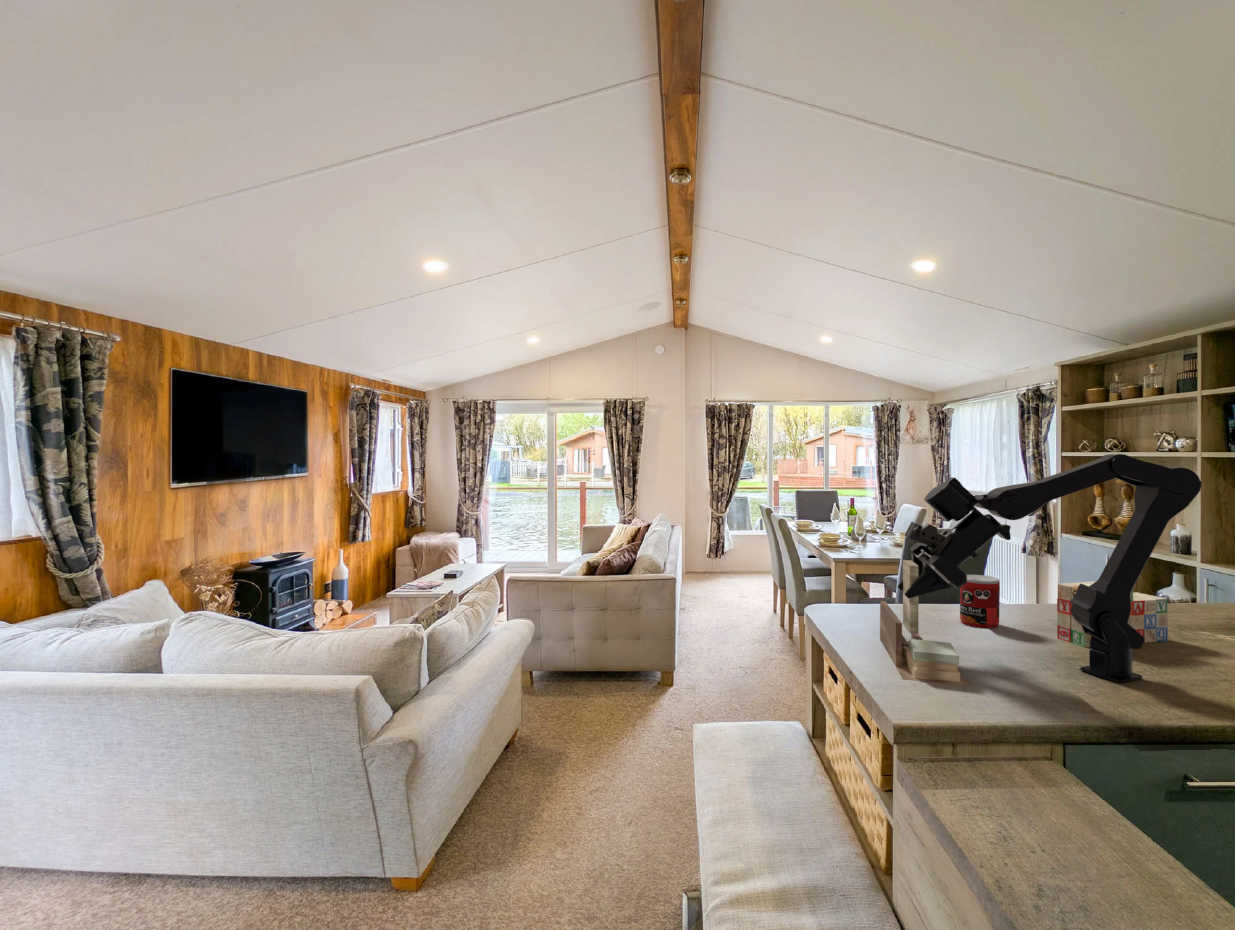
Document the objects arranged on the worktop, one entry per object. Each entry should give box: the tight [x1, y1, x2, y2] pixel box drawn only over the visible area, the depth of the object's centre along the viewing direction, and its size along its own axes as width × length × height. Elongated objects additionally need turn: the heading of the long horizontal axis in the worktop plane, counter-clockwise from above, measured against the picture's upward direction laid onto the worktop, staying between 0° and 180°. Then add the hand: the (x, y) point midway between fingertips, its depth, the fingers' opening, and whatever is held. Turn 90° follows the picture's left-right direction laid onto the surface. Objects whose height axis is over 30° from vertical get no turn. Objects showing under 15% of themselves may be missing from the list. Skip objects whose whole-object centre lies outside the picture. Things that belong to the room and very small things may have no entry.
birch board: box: [902, 559, 919, 634], centre depth 112 cm, size 2×6×13 cm, turn 165°
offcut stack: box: [902, 638, 960, 682], centre depth 101 cm, size 8×8×4 cm
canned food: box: [959, 574, 1001, 629], centre depth 135 cm, size 8×8×11 cm
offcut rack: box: [879, 600, 972, 687], centre depth 107 cm, size 10×22×10 cm, turn 165°
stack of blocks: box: [1056, 580, 1169, 648], centre depth 123 cm, size 21×6×12 cm, turn 100°
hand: (902, 592), depth 112 cm, fingers closed on birch board, 6 cm apart
